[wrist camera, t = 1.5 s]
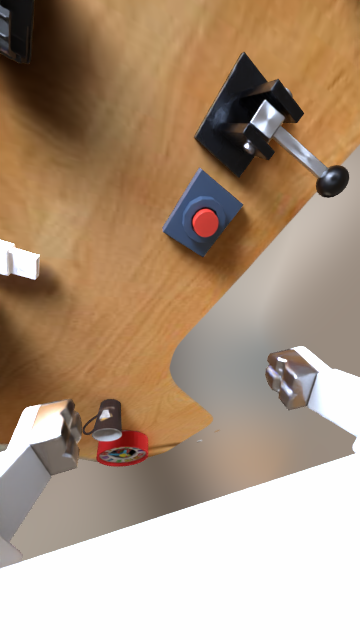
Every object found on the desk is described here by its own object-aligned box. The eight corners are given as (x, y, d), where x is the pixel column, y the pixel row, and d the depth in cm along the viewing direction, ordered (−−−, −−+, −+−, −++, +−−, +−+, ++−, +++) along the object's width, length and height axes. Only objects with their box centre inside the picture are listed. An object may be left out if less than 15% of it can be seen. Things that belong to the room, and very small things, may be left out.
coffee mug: (126, 398, 75) (124, 428, 68) (121, 411, 80) (119, 441, 73) (88, 395, 72) (81, 427, 65) (86, 409, 77) (80, 441, 70)
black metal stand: (284, 109, 33) (337, 103, 24) (236, 176, 38) (265, 193, 29) (240, 53, 29) (284, 22, 20) (193, 137, 34) (211, 142, 25)
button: (202, 203, 36) (204, 206, 35) (221, 217, 38) (223, 220, 37) (187, 225, 38) (189, 228, 37) (206, 237, 40) (208, 241, 39)
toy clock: (140, 466, 100) (92, 466, 94) (140, 452, 105) (94, 450, 98) (154, 447, 89) (101, 445, 82) (154, 431, 93) (103, 429, 87)
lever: (349, 179, 27) (361, 175, 25) (325, 203, 29) (334, 203, 26) (266, 104, 26) (269, 92, 24) (246, 133, 28) (247, 125, 25)
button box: (199, 167, 36) (204, 171, 33) (239, 201, 40) (247, 208, 37) (162, 227, 42) (163, 235, 39) (201, 252, 46) (205, 261, 43)
